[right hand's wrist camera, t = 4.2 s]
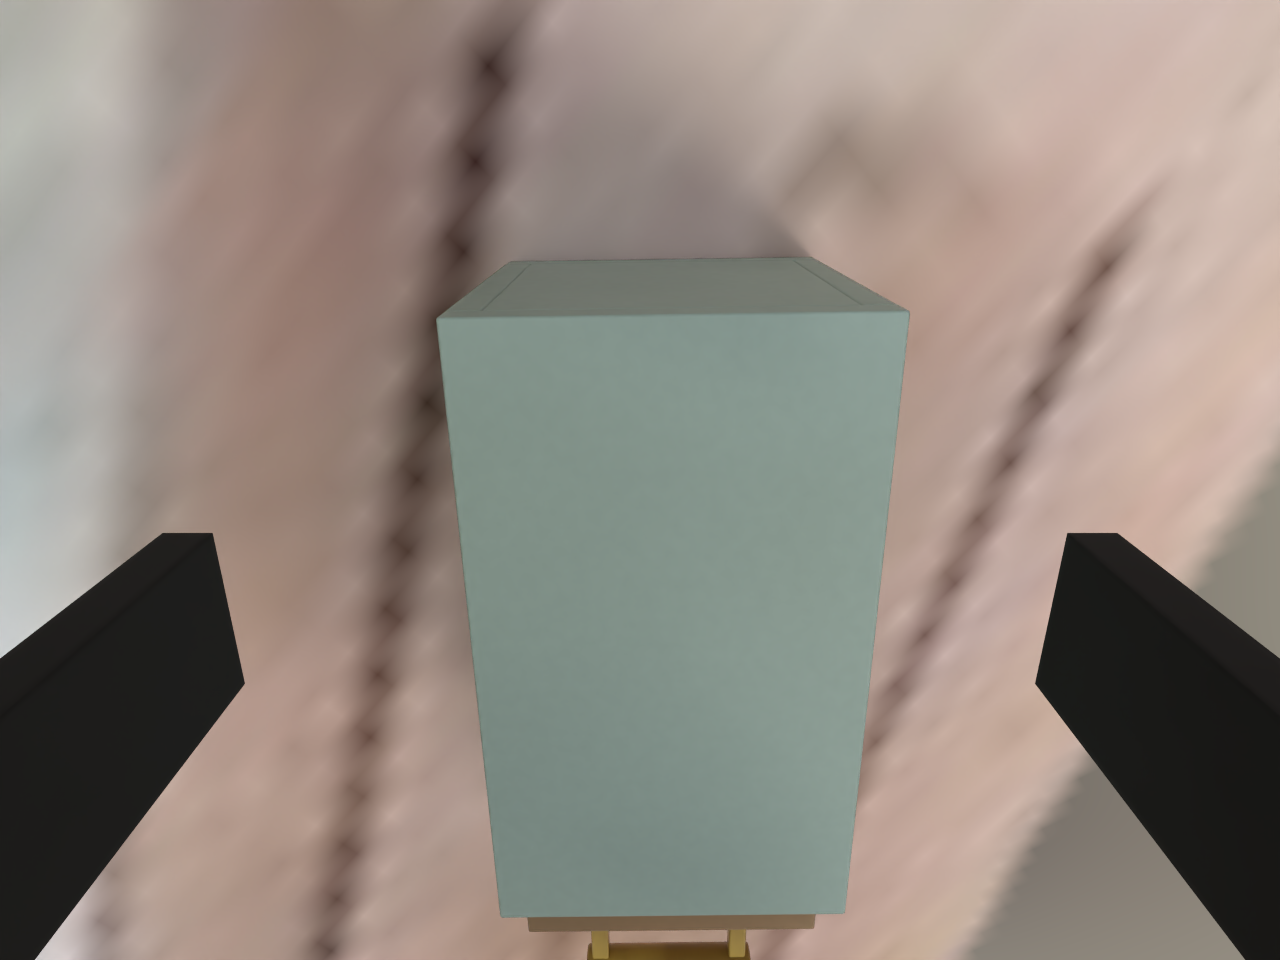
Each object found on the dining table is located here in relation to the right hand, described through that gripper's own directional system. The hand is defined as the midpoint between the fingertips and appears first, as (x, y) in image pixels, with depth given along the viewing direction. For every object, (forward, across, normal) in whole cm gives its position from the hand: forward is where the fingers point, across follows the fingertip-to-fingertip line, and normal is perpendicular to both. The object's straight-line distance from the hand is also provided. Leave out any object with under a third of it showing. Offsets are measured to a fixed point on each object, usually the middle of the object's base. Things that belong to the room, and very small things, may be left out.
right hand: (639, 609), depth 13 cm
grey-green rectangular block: (+16, +1, -5) cm, 17 cm away
